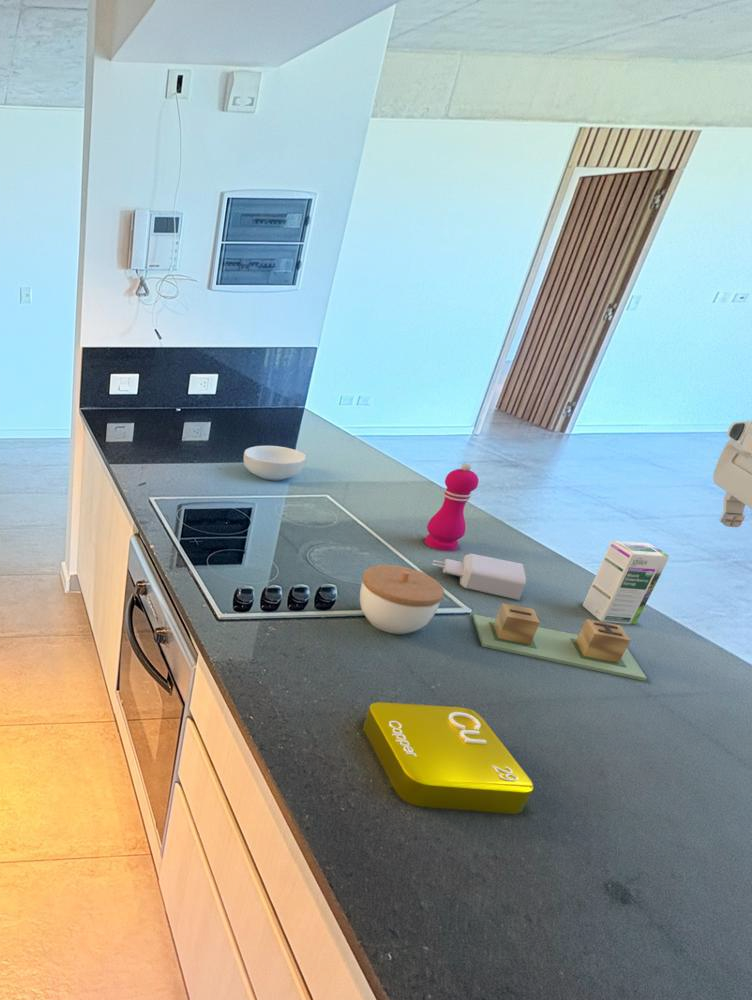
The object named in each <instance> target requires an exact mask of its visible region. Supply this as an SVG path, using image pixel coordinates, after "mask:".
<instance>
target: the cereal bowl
mask: <svg viewBox="0 0 752 1000" xmlns="http://www.w3.org/2000/svg"><path fill="white" fill-rule="evenodd" d="M306 461H307V456H306V455H305V453H303V452H301V451H300V450H297V449H294V448H290V447H285V446H280V445H279V446H278V445H255V446H251V447H247V448H246V449H244V452H243V464H244V467H245V469H247V471H249V472H250V473H251V474H252V475H255V476H257V477H258V478H260V479H264V480H266V481H267V480H268V481H284V480H286V479H289V478H290V479H291V478H294V477H296V476H297V475H299V474H300V473H301V472H302V471H303V469H304V468H305V465H306Z"/></svg>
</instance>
